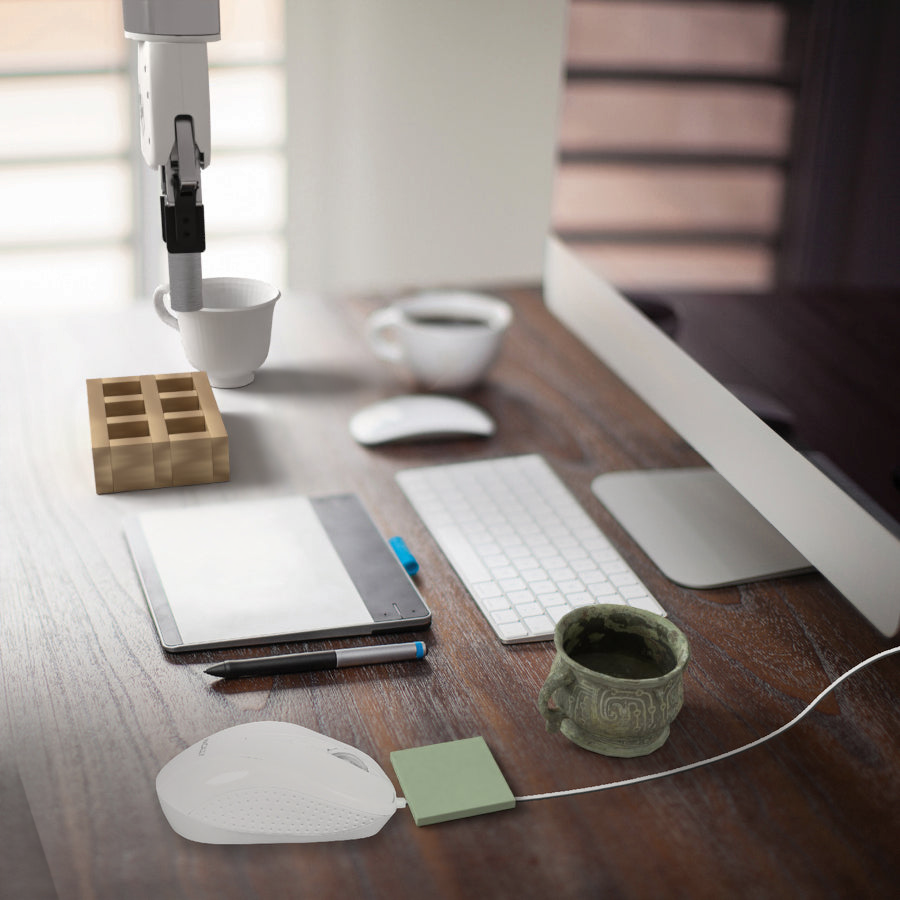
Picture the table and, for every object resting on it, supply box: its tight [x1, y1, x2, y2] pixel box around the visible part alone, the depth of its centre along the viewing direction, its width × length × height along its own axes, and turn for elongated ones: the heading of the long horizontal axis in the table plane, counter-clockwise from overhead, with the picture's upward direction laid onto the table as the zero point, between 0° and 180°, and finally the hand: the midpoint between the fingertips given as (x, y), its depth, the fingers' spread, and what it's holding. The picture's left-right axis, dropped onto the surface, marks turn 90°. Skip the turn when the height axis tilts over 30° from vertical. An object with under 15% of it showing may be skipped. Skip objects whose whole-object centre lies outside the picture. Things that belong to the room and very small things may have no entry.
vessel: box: [537, 602, 692, 759], centre depth 73 cm, size 12×9×6 cm
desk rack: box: [85, 370, 231, 495], centre depth 108 cm, size 12×17×4 cm
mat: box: [389, 735, 517, 827], centre depth 68 cm, size 6×6×1 cm
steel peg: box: [163, 179, 203, 312], centre depth 98 cm, size 3×3×11 cm
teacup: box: [152, 276, 282, 389], centre depth 125 cm, size 12×15×10 cm
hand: (183, 245), depth 98 cm, fingers closed on steel peg, 2 cm apart
